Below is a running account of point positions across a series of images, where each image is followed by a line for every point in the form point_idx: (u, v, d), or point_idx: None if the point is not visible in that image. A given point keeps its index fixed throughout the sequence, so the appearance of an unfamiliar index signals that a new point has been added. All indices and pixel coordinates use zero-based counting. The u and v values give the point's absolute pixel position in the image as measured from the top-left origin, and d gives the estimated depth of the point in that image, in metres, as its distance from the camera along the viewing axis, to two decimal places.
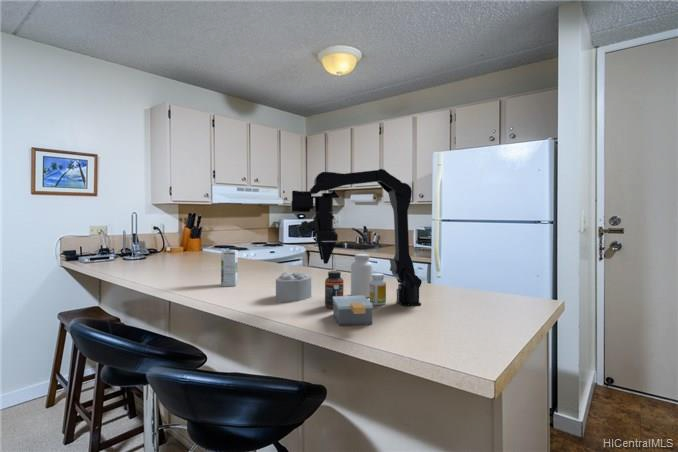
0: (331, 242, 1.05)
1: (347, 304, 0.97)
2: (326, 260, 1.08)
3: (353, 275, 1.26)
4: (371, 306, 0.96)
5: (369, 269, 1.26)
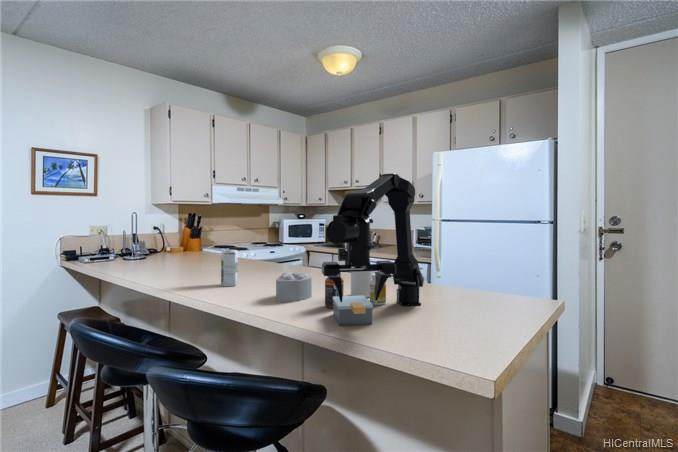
0: (328, 277, 0.89)
1: (347, 304, 0.97)
2: (339, 298, 0.91)
3: (353, 275, 1.26)
4: (371, 306, 0.96)
5: None
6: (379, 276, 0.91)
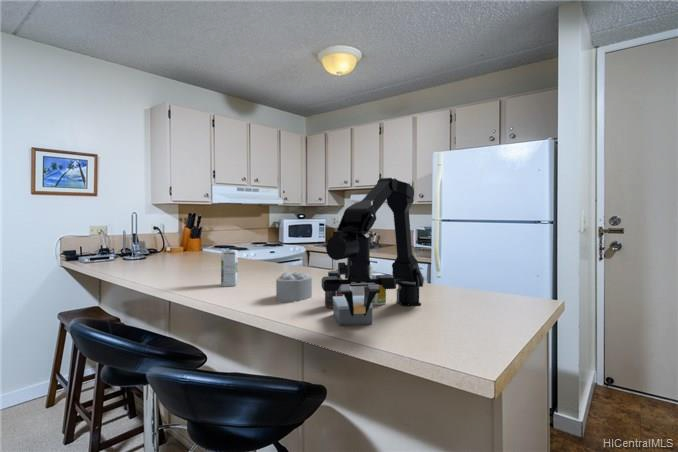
0: (340, 291, 0.90)
1: (347, 304, 0.97)
2: (350, 312, 0.92)
3: None
4: (371, 306, 0.96)
5: None
6: (368, 291, 0.91)
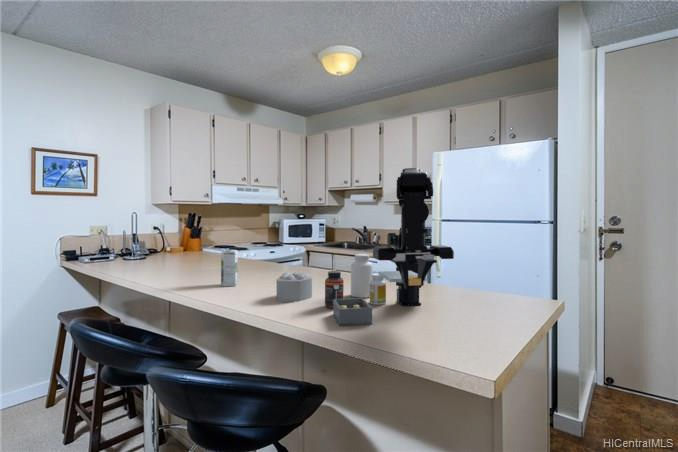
0: (394, 261, 0.84)
1: (398, 277, 0.91)
2: (404, 284, 0.86)
3: (353, 275, 1.26)
4: (424, 279, 0.90)
5: (369, 269, 1.26)
6: (423, 261, 0.85)
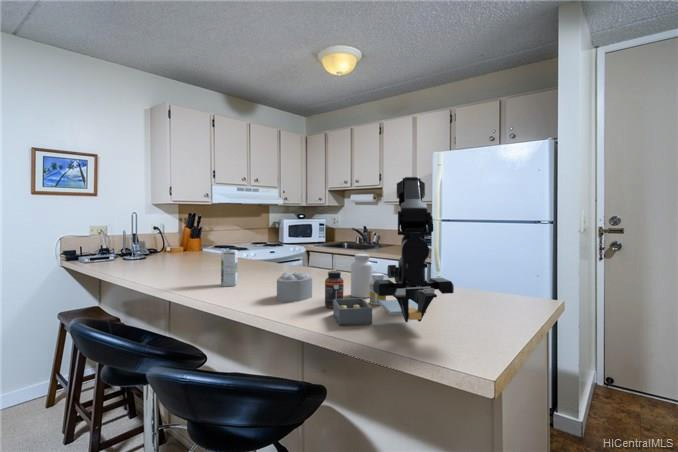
0: (394, 296, 0.85)
1: (398, 309, 0.91)
2: (404, 317, 0.86)
3: (353, 275, 1.26)
4: None
5: (369, 269, 1.26)
6: (424, 296, 0.85)
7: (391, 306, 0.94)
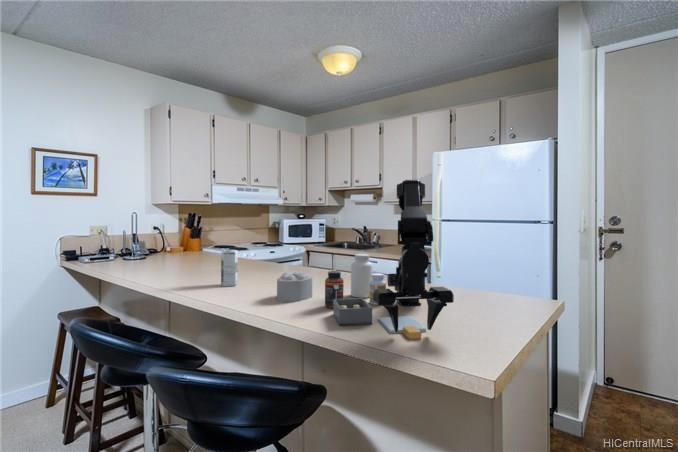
0: (384, 305, 0.84)
1: (398, 327, 0.91)
2: (394, 327, 0.86)
3: (353, 275, 1.26)
4: (424, 329, 0.91)
5: (369, 269, 1.26)
6: (434, 304, 0.86)
7: (391, 324, 0.94)
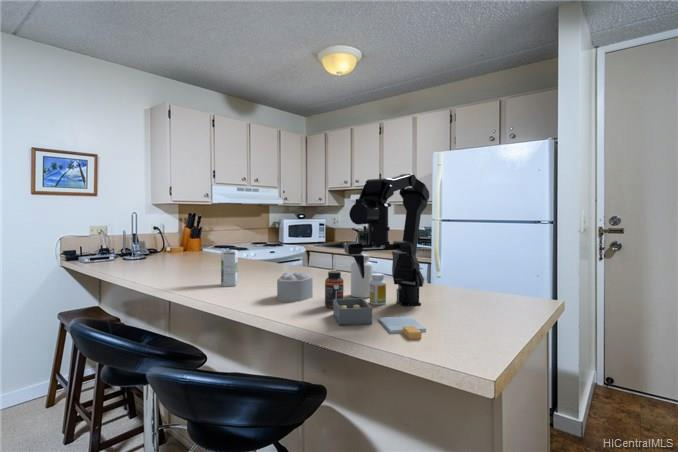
0: (352, 255, 0.99)
1: (398, 327, 0.91)
2: (361, 274, 1.01)
3: (353, 275, 1.26)
4: (424, 329, 0.91)
5: (369, 269, 1.26)
6: (397, 254, 1.01)
7: (391, 324, 0.94)
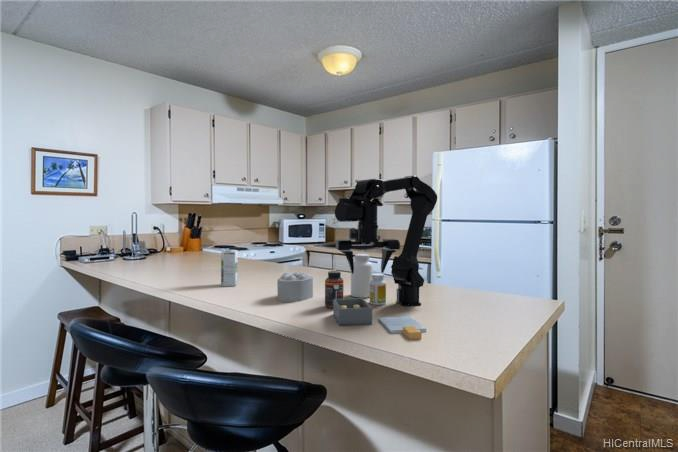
0: (342, 251, 1.04)
1: (398, 327, 0.91)
2: (351, 270, 1.06)
3: (353, 275, 1.26)
4: (424, 329, 0.91)
5: (369, 269, 1.26)
6: (385, 251, 1.06)
7: (391, 324, 0.94)
